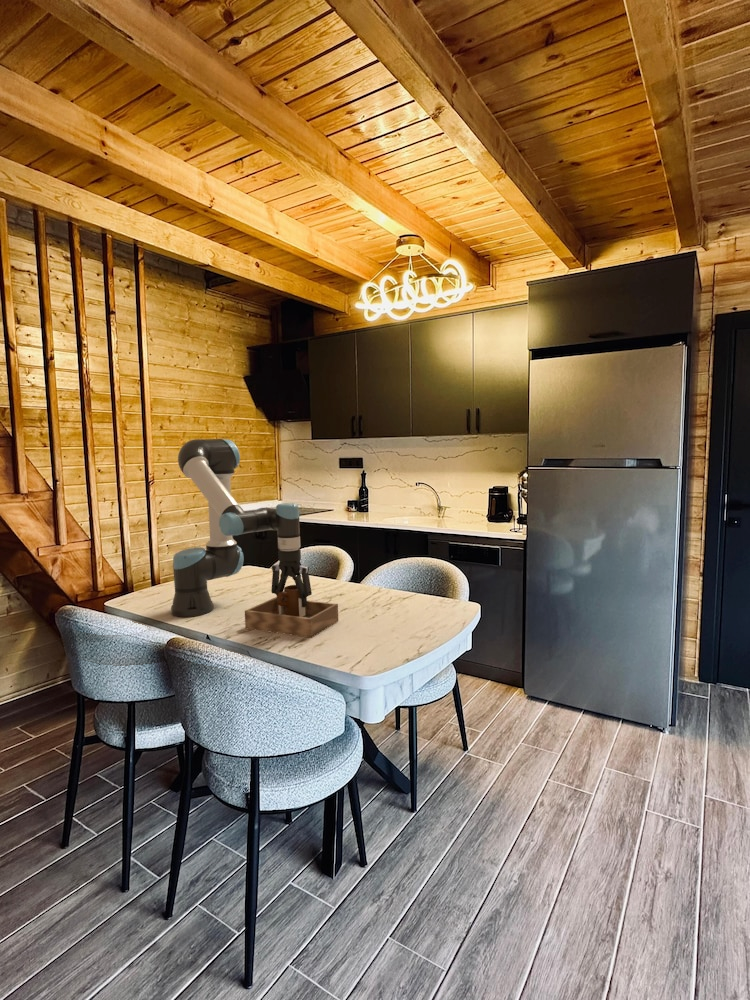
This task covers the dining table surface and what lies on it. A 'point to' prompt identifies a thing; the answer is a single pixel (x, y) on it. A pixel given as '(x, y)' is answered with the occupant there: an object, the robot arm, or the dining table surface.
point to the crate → (291, 618)
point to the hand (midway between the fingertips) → (292, 614)
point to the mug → (290, 600)
